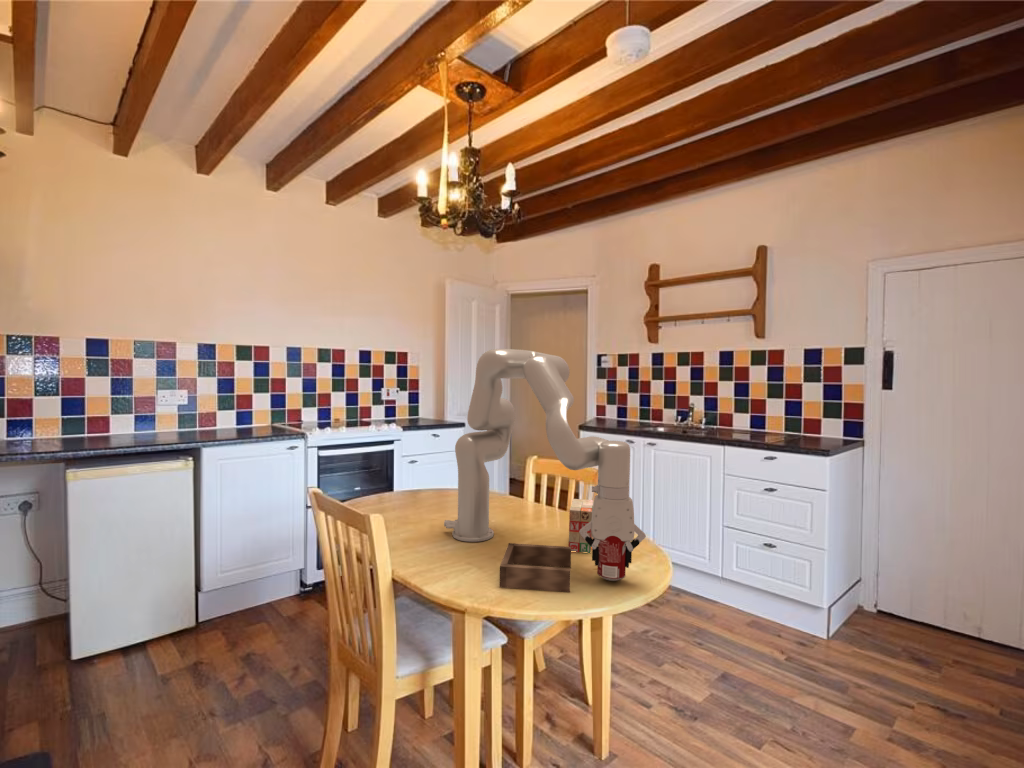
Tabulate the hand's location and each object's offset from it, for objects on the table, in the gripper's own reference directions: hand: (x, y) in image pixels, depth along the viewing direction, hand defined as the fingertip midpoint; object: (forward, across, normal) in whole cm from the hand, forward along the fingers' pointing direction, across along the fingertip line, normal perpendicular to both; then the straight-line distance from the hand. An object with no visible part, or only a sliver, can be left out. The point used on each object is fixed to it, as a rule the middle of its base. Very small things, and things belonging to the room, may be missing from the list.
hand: (611, 564), depth 126 cm
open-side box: (+4, -18, 0) cm, 19 cm away
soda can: (+3, 0, 0) cm, 3 cm away
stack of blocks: (+5, -7, +28) cm, 30 cm away
